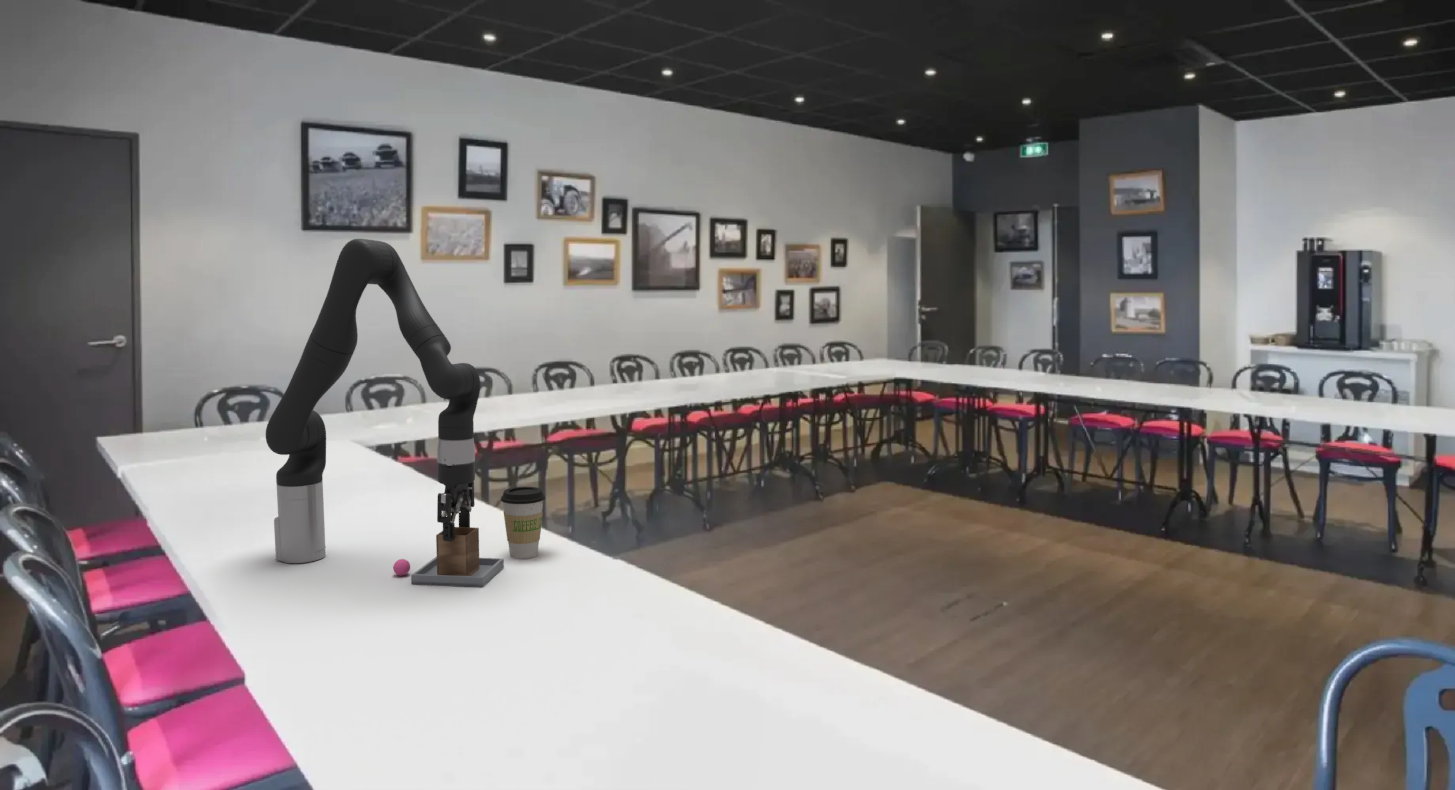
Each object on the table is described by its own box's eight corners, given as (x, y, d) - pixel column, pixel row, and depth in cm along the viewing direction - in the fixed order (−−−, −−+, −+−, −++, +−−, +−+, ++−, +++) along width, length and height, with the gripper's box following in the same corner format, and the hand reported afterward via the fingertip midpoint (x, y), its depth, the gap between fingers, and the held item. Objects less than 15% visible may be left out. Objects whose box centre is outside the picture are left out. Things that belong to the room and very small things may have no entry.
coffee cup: (535, 562, 196) (534, 496, 194) (494, 559, 198) (492, 494, 196) (552, 550, 205) (551, 487, 204) (513, 547, 207) (512, 484, 206)
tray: (411, 584, 181) (411, 574, 180) (437, 565, 193) (436, 556, 193) (482, 587, 179) (482, 577, 179) (503, 567, 192) (503, 558, 192)
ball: (390, 577, 185) (390, 561, 184) (397, 572, 188) (397, 556, 188) (406, 577, 185) (405, 562, 184) (413, 572, 188) (412, 557, 187)
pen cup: (437, 577, 183) (436, 535, 182) (449, 567, 190) (448, 526, 189) (468, 578, 183) (467, 536, 182) (479, 568, 189) (478, 527, 188)
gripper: (451, 452, 191) (452, 525, 193) (424, 465, 177) (425, 543, 179) (485, 453, 190) (485, 527, 192) (460, 466, 176) (461, 545, 178)
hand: (456, 535), depth 185 cm, fingers open, 8 cm apart
